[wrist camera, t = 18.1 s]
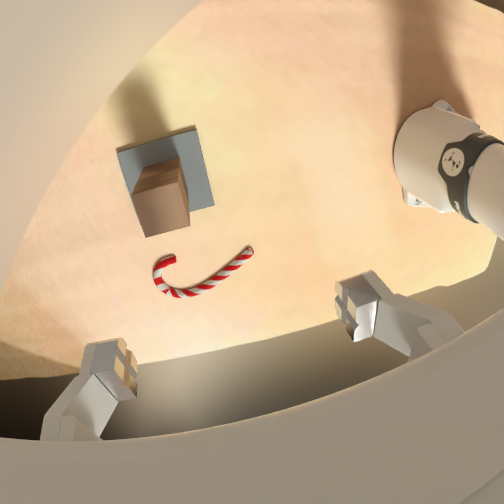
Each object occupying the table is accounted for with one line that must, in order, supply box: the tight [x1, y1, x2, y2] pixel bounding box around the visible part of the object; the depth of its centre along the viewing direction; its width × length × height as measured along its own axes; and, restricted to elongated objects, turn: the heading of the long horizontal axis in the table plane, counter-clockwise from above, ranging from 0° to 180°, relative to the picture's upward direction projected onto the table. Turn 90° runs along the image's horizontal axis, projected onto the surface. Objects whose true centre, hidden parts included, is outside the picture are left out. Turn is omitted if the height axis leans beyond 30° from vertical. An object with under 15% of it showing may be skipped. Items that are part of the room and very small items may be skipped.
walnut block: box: [131, 157, 190, 237], centre depth 32 cm, size 4×4×10 cm
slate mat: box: [117, 129, 214, 225], centre depth 36 cm, size 10×10×1 cm
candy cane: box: [153, 248, 254, 298], centre depth 44 cm, size 8×1×15 cm
